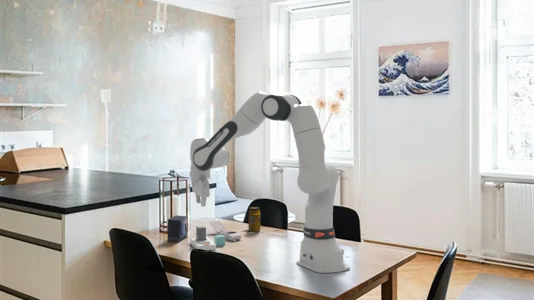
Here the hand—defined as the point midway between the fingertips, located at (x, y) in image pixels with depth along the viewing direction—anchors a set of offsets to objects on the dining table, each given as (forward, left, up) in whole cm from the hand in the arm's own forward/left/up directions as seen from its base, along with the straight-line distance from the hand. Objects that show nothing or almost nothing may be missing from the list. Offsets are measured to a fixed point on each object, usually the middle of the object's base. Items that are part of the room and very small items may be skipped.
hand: (200, 204), depth 238 cm
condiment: (+19, -31, -19) cm, 41 cm away
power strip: (-3, 0, -18) cm, 19 cm away
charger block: (0, 0, -18) cm, 18 cm away
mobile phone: (+12, -15, -19) cm, 27 cm away
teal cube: (-2, -8, -19) cm, 20 cm away
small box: (+15, +8, -19) cm, 25 cm away
